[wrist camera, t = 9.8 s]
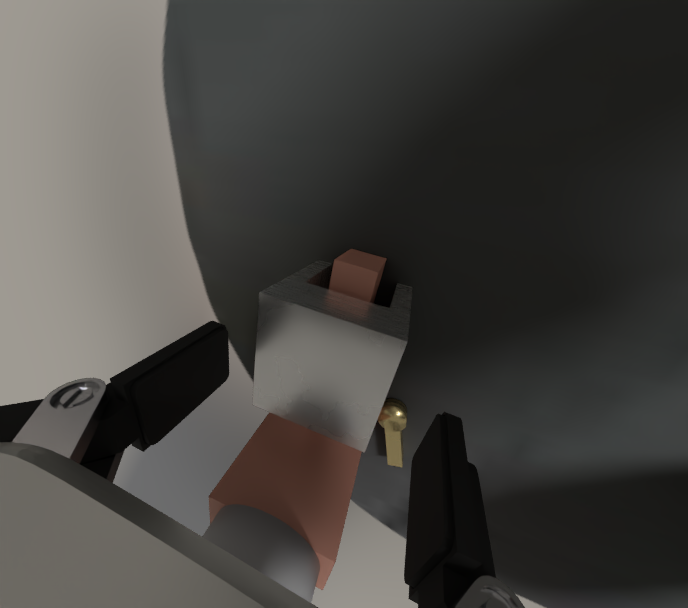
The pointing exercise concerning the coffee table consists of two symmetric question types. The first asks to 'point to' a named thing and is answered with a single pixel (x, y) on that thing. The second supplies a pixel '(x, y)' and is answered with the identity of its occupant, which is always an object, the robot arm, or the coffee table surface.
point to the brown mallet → (293, 480)
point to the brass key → (393, 429)
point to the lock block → (327, 354)
